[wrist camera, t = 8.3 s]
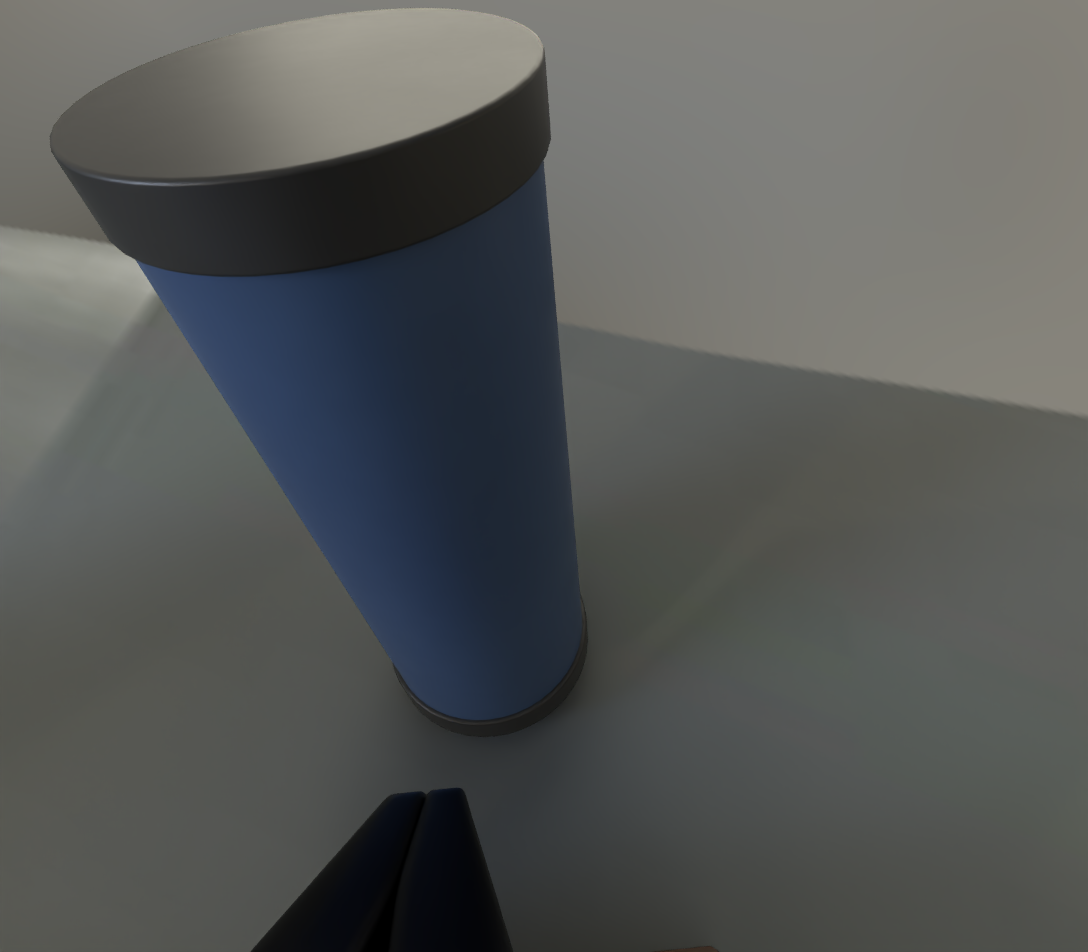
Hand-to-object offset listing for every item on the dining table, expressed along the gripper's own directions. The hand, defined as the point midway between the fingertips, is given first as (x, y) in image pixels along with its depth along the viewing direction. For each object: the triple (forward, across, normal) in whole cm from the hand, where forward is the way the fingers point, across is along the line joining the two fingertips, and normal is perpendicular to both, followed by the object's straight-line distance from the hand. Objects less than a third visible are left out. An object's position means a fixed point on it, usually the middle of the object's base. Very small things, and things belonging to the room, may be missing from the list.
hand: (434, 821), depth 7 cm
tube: (+4, 0, -3) cm, 5 cm away
